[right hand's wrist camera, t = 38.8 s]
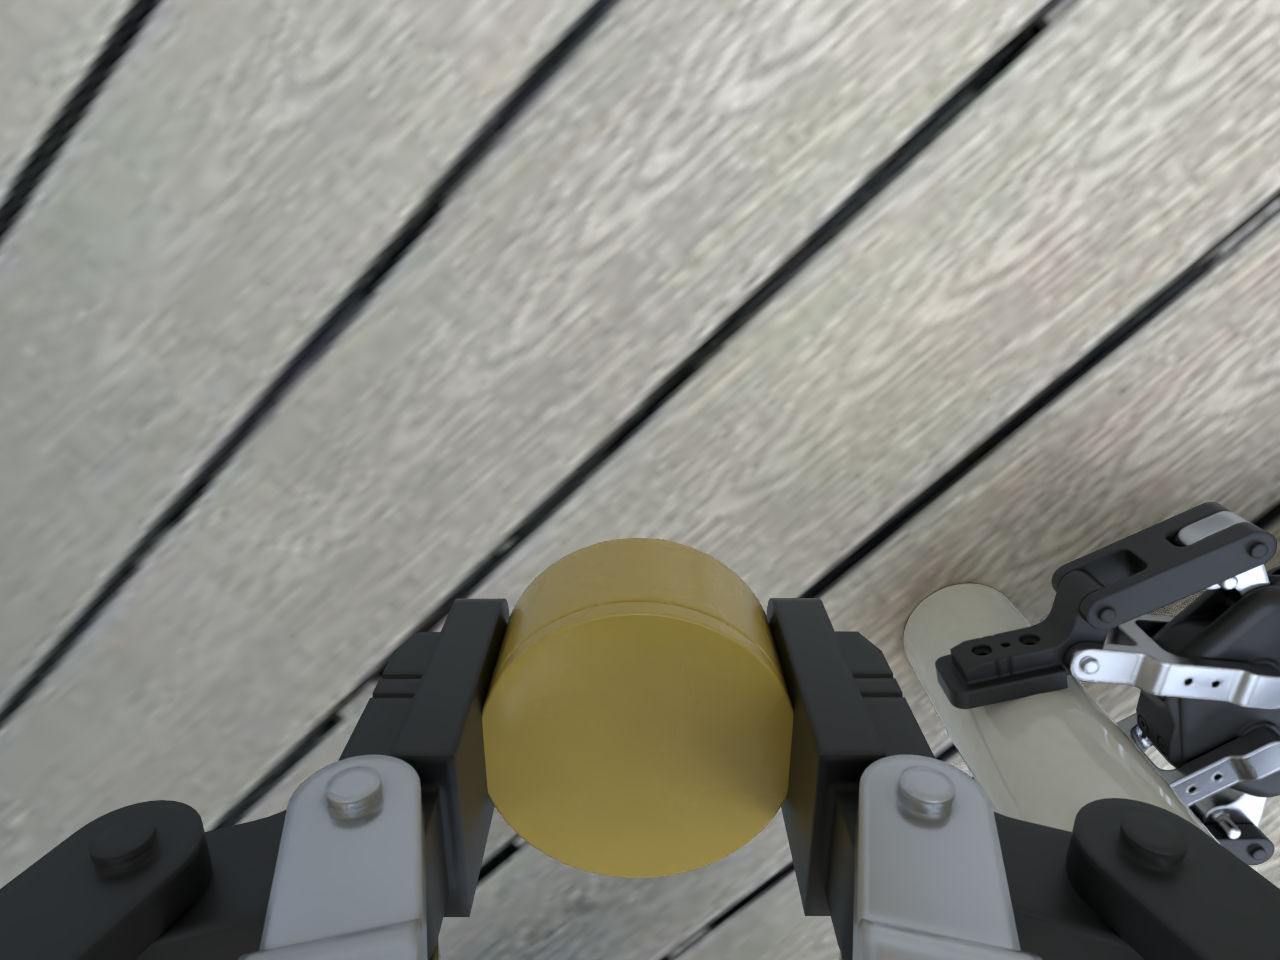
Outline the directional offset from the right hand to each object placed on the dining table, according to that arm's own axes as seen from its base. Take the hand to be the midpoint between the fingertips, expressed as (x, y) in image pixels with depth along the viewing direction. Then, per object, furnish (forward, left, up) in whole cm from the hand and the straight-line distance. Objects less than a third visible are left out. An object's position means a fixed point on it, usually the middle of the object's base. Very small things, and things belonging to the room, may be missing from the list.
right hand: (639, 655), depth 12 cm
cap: (0, 0, +2) cm, 2 cm away
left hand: (-14, -9, -14) cm, 22 cm away
